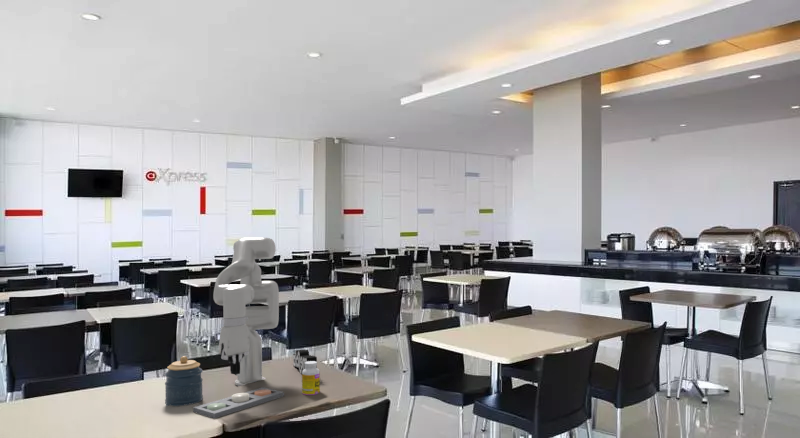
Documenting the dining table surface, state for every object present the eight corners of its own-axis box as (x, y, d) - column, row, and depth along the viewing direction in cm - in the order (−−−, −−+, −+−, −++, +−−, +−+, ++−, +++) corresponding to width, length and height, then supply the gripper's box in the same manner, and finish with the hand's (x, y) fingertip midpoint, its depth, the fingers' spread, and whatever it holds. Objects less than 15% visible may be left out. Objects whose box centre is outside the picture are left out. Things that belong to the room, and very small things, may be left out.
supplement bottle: (316, 399, 209) (315, 364, 209) (299, 398, 210) (299, 364, 210) (322, 394, 215) (321, 360, 216) (306, 393, 217) (305, 360, 217)
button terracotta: (251, 400, 207) (251, 392, 207) (264, 396, 212) (263, 388, 212) (261, 403, 204) (261, 394, 204) (274, 399, 209) (274, 391, 209)
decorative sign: (317, 375, 235) (316, 351, 237) (307, 376, 234) (306, 352, 236) (302, 370, 265) (301, 348, 266) (293, 371, 263) (292, 349, 265)
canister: (210, 400, 209) (209, 353, 210) (186, 411, 197) (186, 361, 198) (182, 398, 214) (181, 351, 214) (157, 408, 201) (156, 359, 202)
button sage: (203, 415, 191) (203, 406, 191) (218, 410, 196) (218, 401, 196) (214, 418, 188) (214, 409, 188) (229, 413, 193) (229, 404, 193)
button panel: (214, 422, 184) (214, 413, 184) (193, 416, 192) (193, 407, 192) (284, 400, 208) (284, 392, 208) (263, 395, 216) (262, 387, 216)
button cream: (228, 404, 199) (228, 395, 199) (242, 400, 204) (242, 391, 204) (238, 407, 196) (238, 398, 196) (252, 402, 201) (252, 394, 201)
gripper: (245, 318, 207) (246, 367, 207) (209, 324, 196) (210, 376, 195) (258, 319, 203) (259, 370, 203) (222, 326, 191) (223, 380, 191)
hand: (235, 373), depth 199 cm, fingers closed
